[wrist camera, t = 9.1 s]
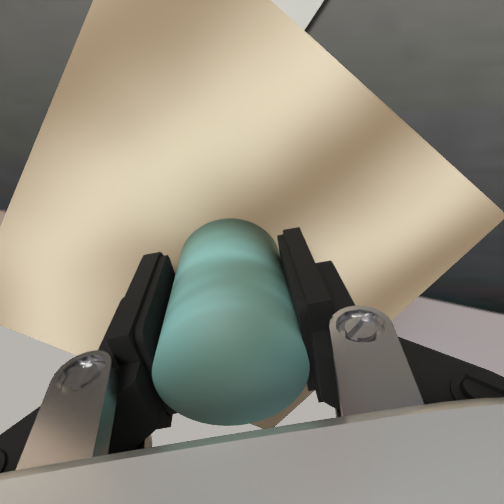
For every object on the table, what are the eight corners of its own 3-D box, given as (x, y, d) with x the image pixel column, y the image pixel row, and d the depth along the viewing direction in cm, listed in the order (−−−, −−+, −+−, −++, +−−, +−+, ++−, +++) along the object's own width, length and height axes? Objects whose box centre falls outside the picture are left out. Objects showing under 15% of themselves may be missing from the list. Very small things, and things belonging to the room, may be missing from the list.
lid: (488, 205, 13) (670, 302, 8) (267, 413, 18) (283, 558, 13) (150, -98, 8) (15, -387, 3) (-17, 295, 13) (-178, 444, 8)
